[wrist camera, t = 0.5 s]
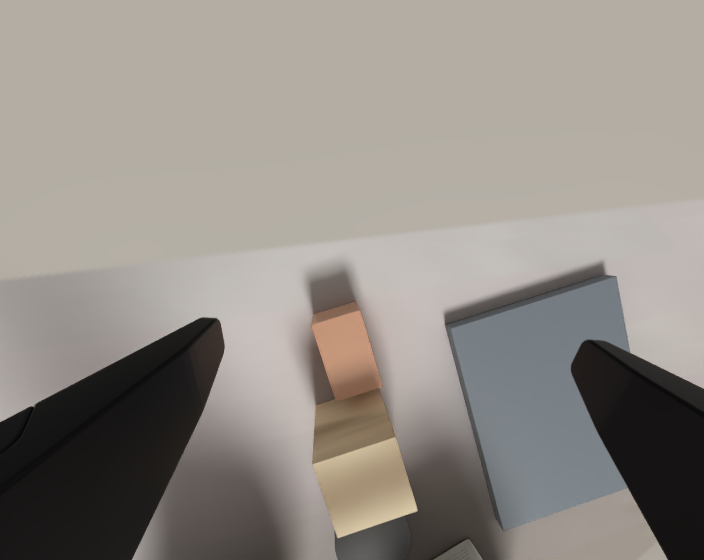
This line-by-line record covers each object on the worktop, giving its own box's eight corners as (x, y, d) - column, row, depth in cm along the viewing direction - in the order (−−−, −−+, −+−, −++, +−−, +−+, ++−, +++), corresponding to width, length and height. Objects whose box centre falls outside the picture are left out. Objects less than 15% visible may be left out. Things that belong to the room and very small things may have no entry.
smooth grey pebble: (408, 523, 24) (420, 562, 21) (345, 544, 24) (347, 588, 21) (390, 465, 23) (400, 497, 20) (325, 487, 23) (325, 523, 20)
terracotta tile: (375, 367, 22) (382, 386, 19) (334, 380, 22) (335, 401, 19) (355, 300, 22) (359, 309, 19) (313, 313, 22) (310, 325, 19)
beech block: (394, 441, 23) (417, 510, 17) (334, 461, 23) (337, 538, 17) (377, 385, 22) (395, 436, 16) (316, 405, 22) (312, 464, 16)
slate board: (640, 469, 25) (653, 478, 24) (496, 519, 24) (503, 530, 23) (603, 274, 23) (616, 276, 22) (445, 324, 22) (450, 328, 21)
